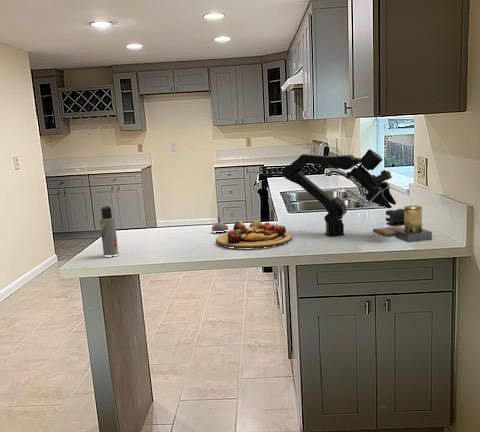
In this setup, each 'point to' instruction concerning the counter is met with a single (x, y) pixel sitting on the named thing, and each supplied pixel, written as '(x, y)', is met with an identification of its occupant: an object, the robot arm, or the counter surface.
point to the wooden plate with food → (254, 236)
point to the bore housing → (413, 235)
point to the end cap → (395, 217)
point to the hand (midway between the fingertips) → (393, 205)
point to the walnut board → (387, 231)
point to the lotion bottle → (108, 232)
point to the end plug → (413, 218)
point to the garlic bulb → (219, 226)
